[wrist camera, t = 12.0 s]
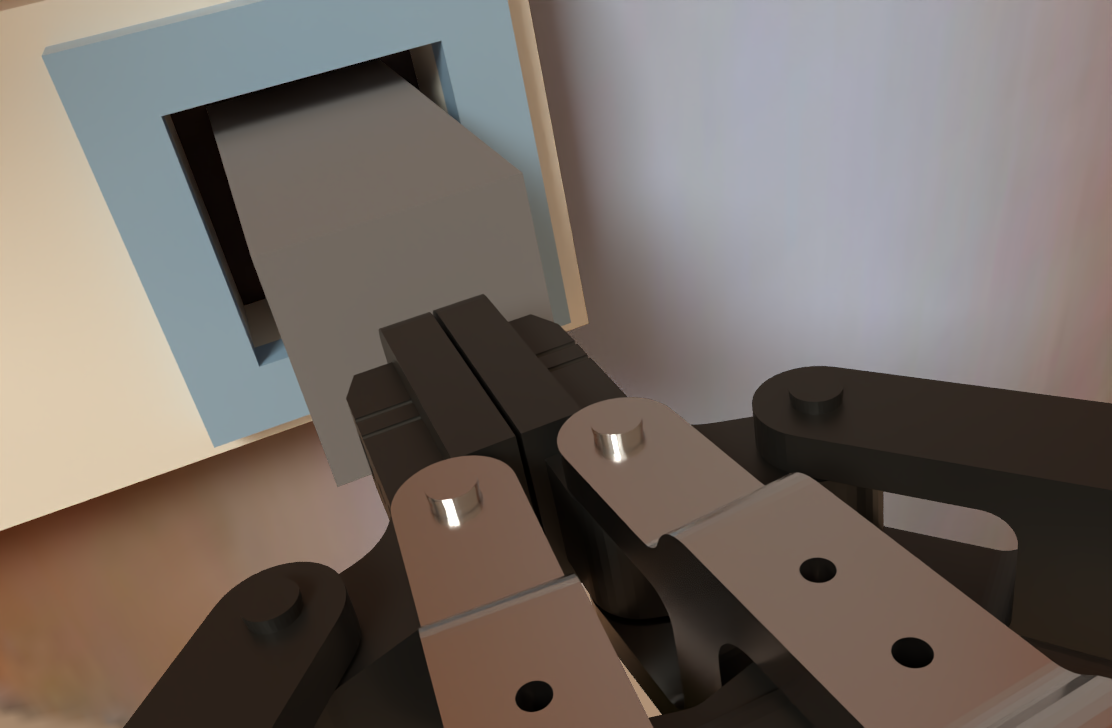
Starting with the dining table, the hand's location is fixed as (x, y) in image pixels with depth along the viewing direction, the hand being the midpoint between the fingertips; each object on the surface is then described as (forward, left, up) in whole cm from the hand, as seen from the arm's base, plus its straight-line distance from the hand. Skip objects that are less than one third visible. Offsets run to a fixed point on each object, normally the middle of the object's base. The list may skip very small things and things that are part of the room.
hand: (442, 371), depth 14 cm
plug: (0, 0, -12) cm, 12 cm away
